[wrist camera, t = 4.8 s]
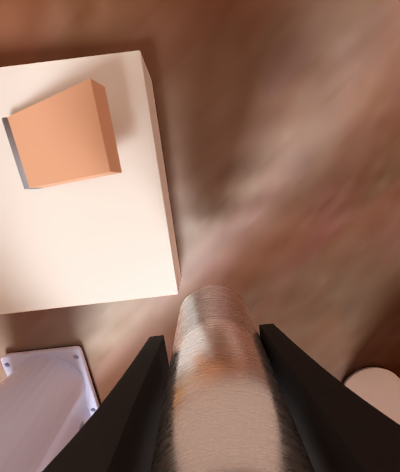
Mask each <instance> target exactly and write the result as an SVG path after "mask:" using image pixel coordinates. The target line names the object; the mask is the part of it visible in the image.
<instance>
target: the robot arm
mask: <svg viewBox="0 0 400 472" xmlns="http://www.w3.org/2000/svg"><path fill="white" fill-rule="evenodd" d="M259 328H260V338H261V341H262V343H263V346H264V348H265V351H266V353H267V355H268V358H269V360H270V363H271V365H272V368H273V370H274V373H275V375H276V378H277V380H278V382H279V385H280V387H281V390H282V392H283V395H284V397H285V400H286V402H287V404H288V407H289V409H290V412H291V414H292V417H293V419H294V422H295V424H296V426H297V429H298V431H299V434H300V436H301V439H302V441H303V444H304V446H305V448H306V451H307V453H308V456H309V458H310V461H311V463H312V466H313V468H314V470H315V472H400V425H399V424H398V423H396V422H395V421H393V420H392V419H391V418H389V417H388V416H386V415H385V414H383V413H382V412H381V411H379V410H378V409H376V408H375V407H374V406H372V405H371V404H369V403H368V402H367V401H365V400H364V399H362V398H361V397H360V396H358V395H357V394H356V393H354V392H353V391H351V390H350V389H349V388H348V387H346V386H345V385H344V384H342V383H341V382H340V381H339V380H337V379H336V378H335V377H334V376H332V375H331V374H330V373H329V372H327V371H326V370H325V369H324V368H322V367H321V366H320V365H319V364H318V363H317V362H315V361H314V360H313V359H312V358H311V357H309V356H308V355H307V354H306V353H305V352H304V351H303V350H301V349H300V348H299V347H298V346H297V345H296V344H295V343H294V342H292V341H291V340H290V339H289V338H288V337H287V336H286V335H285V334H284V333H283V332H281V331H280V330H279V329H278V328H277V327H276V326H275V325H274V324H264V325H259ZM1 362H2V365H3V367H4V369H5V372H6V374H7V376H8V377H7V378H6V379H5V380H4V381H3V382H2V383H1V384H0V472H150V471H151V466H152V460H153V455H154V449H155V444H156V438H157V433H158V427H159V422H160V416H161V411H162V405H163V400H164V394H165V389H166V383H167V378H168V372H169V363H168V358H167V352H166V346H165V341H164V335H162V336H153V337H150V338H149V339H148V340H147V342H146V343H145V345H144V346H143V348H142V349H141V351H140V352H139V354H138V355H137V357H136V358H135V359H134V361H133V362H132V364H131V365H130V366H129V368H128V369H127V371H126V372H125V373H124V375H123V376H122V377H121V379H120V380H119V382H118V383H117V384H116V386H115V387H114V388H113V389H112V391H111V392H110V393H109V395H108V396H107V397H106V398H105V400H104V401H103V402H102V403H101V405H100V406H99V403H98V399H97V396H96V393H95V390H94V387H93V383H92V380H91V377H90V374H89V371H88V367H87V364H86V361H85V358H84V355H83V351H82V349H81V347H79V346H71V347H62V348H53V349H44V350H35V351H26V352H17V353H9V354H5V355H4V356H3V357H2V358H1Z"/></svg>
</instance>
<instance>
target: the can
mask: <svg viewBox="0 0 400 472" xmlns="http://www.w3.org/2000/svg"><path fill="white" fill-rule="evenodd" d="M343 384H344V385H345V386H346V387H348V388H349V389H350V390H351V391H353V392H354V393H356V394H357V395H358V396H360V397H361V398H362V399H364V400H365V401H367V402H368V403H369V404H371V405H372V406H374V407H375V408H376V409H378V410H379V411H381V412H382V413H383V414H385V415H386V416H388V417H389V418H391V419H392V420H393V421H395V422H396V423H398V424H399V425H400V378H399V377H397V376H396V375H395V374H394V373H393V372H391V371H389V370H386V369H383V368H379V367H366V368H362V369H359V370H357V371H355V372H354V373H352V374H351V375H350V376H349V377H348V378H347V379H346V380H345V381H344V383H343Z"/></svg>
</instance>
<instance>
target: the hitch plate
mask: <svg viewBox="0 0 400 472" xmlns="http://www.w3.org/2000/svg"><path fill="white" fill-rule="evenodd" d="M90 78H91V79H92V80H94V81H96V82H97V83H99V84H101V85H102V86H104V87H105V91H106V95H107V100H108V105H109V110H110V115H111V120H112V125H113V130H114V135H115V140H116V145H117V150H118V155H119V160H120V165H121V170H122V173H118V174H113V175H108V176H102V177H97V178H92V179H87V180H82V181H76V182H71V183H66V184H61V185H56V186H51V187H45V188H40V189H24V187H23V184H22V181H21V178H20V175H19V172H18V168H17V165H16V162H15V159H14V156H13V153H12V150H11V147H10V144H9V140H8V137H7V134H6V131H5V128H4V125H3V122H2V118H4V117H9V116H11V115H13V114H15V113H17V112H19V111H22V110H24V109H26V108H28V107H30V106H32V105H34V104H36V103H39V102H41V101H43V100H45V99H47V98H49V97H51V96H54V95H56V94H58V93H60V92H62V91H64V90H66V89H68V88H71V87H73V86H75V85H77V84H79V83H81V82H83V81H85V80H88V79H90ZM180 281H181V273H180V266H179V260H178V253H177V246H176V240H175V233H174V226H173V220H172V213H171V206H170V199H169V193H168V186H167V179H166V173H165V166H164V159H163V152H162V146H161V139H160V132H159V126H158V119H157V112H156V106H155V99H154V92H153V85H152V80H151V77H150V75H149V72H148V70H147V67H146V65H145V62H144V60H143V57H142V55H141V52H140V50H138V51H130V52H121V53H113V54H105V55H97V56H89V57H81V58H73V59H64V60H56V61H48V62H40V63H32V64H24V65H15V66H7V67H0V314H9V313H17V312H26V311H35V310H44V309H52V308H61V307H70V306H79V305H87V304H96V303H105V302H114V301H123V300H131V299H140V298H149V297H158V296H166V295H175V294H178V292H179V286H180Z"/></svg>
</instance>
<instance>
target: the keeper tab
mask: <svg viewBox="0 0 400 472" xmlns="http://www.w3.org/2000/svg"><path fill="white" fill-rule="evenodd" d="M2 122H3V125H4V128H5V131H6V134H7V137H8V140H9V144H10V147H11V150H12V153H13V156H14V159H15V162H16V165H17V168H18V172H19V175H20V178H21V181H22V184H23V187H24V189H40V188H45V187H51V186H56V185H61V184H66V183H71V182H76V181H82V180H87V179H92V178H97V177H102V176H108V175H113V174H118V173H122V170H121V165H120V160H119V155H118V150H117V145H116V140H115V135H114V130H113V125H112V120H111V115H110V110H109V105H108V100H107V95H106V91H105V87H104V86H102V85H101V84H99V83H97V82H96V81H94V80H92V79H91V78H90V79H88V80H85V81H83V82H81V83H79V84H77V85H75V86H73V87H71V88H68V89H66V90H64V91H62V92H60V93H58V94H56V95H54V96H51V97H49V98H47V99H45V100H43V101H41V102H39V103H36V104H34V105H32V106H30V107H28V108H26V109H24V110H22V111H19V112H17V113H15V114H13V115H11V116H9V117H4V118H2Z"/></svg>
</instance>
